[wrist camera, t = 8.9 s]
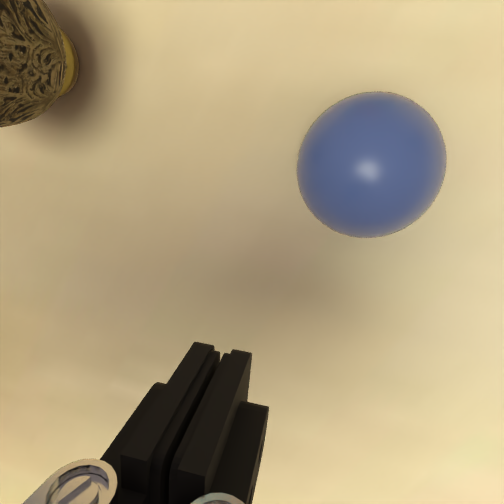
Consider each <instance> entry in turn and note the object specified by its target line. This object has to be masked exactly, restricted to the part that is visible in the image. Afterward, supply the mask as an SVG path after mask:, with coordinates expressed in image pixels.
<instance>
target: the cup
mask: <svg viewBox="0 0 504 504" xmlns="http://www.w3.org/2000/svg"><path fill="white" fill-rule="evenodd" d="M78 72H79V61H78V56H77V52H76V49H75V47H74V45H73V43H72V41H71V40H70V39H69V37H68V36H67V35H66V34H65V33H64V31H63V30H62V29H61V28H59V27H58V25H57V23H56V21H55V19H54V17H53V15H52V13H51V12H50V10H49V9H48V7H47V5H46V4H45V3H44V2H43V0H0V127H6V126H11V125H16V124H20V123H23V122H26V121H29V120H32V119H34V118H36V117H37V116H39V115H41V114H42V113H44V112H45V111H46V110H47V109H48V108H49V107H50V106H51V105H52V104H53V103H54V102H55V100H56V99H57V98H58V97H60V96H62V95H64V94H66V93H67V92H69V91H70V90H71V89H72V87H73V86H74V84H75V83H76V80H77V77H78Z"/></svg>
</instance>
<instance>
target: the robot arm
mask: <svg viewBox="0 0 504 504" xmlns="http://www.w3.org/2000/svg"><path fill="white" fill-rule="evenodd" d="M251 360H252V353H250V352H244V351H239V350H234V349H233V350H232V351H231V353H230V354H228V353H224V355H223V357H222V359H221V361H220V352H218V351H214V346H213V345H209V344H204V343H199V342H194V343H193V345H192V346H191V348H190V349H189V351H188V352H187V354H186V355H185V357H184V358H183V360H182V361H181V363H180V364H179V366H178V367H177V369H176V370H175V372H174V374H173V375H172V377H171V378H170V380H169V381H168V383H167V384H164V383H159V382H157V383H155V384H154V385H153V386H152V387H151V389H150V390H149V391H148V393H147V394H146V396H145V397H144V398H143V400H142V401H141V403H140V404H139V406H138V407H137V408H136V410H135V411H134V413H133V414H132V415H131V417H130V418H129V420H128V421H127V422H126V424H125V425H124V427H123V428H122V429H121V431H120V432H119V434H118V435H117V436H116V438H115V439H114V441H113V442H112V443H111V445H110V446H109V448H108V449H107V450H106V452H105V453H104V455H103V456H102V458H101V459H100V460H98V459H82V460H78V461H75V462H72V463H70V464H68V465H66V466H64V467H62V468H60V469H59V470H58V471H56V472H55V473H54V474H53V475H51V476H50V477H49V478H48V479H47V480H46V481H45V482H44V483H43V484H42V485H41V486H40V487H39V488H38V489H37V490H36V491H35V492H34V493H33V494H32V495H31V496H30V497H29V498H28V499H27V500H26V501H25V502H24V503H23V504H252V500H253V495H254V491H255V486H256V481H257V476H258V472H259V467H260V462H261V457H262V452H263V446H264V441H265V434H266V427H267V420H268V412H269V407H267V406H263V405H258V404H254V403H249V402H247V398H248V388H249V379H250V369H251Z"/></svg>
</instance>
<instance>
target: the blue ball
mask: <svg viewBox="0 0 504 504" xmlns="http://www.w3.org/2000/svg"><path fill="white" fill-rule="evenodd" d="M445 171H446V148H445V143H444V140H443V137H442V134H441V131H440V129H439V127H438V126H437V124H436V122H435V121H434V120H433V118H432V117H431V116H430V114H429V113H428V112H427V111H426V110H424V109H423V108H422V107H421V106H420V105H418V104H417V103H415V102H414V101H412V100H410V99H408V98H406V97H403V96H400V95H397V94H393V93H389V92H366V93H360V94H356V95H353V96H350V97H347V98H345V99H343V100H341V101H339V102H337V103H336V104H334V105H332V106H331V107H330V108H328V109H327V110H326V111H325V112H323V113H322V114H321V115H320V116H319V117H318V118H317V119H316V121H315V122H314V123H313V124H312V126H311V127H310V129H309V130H308V132H307V134H306V135H305V137H304V140H303V142H302V144H301V147H300V151H299V155H298V161H297V179H298V185H299V189H300V192H301V195H302V197H303V200H304V201H305V203H306V205H307V207H308V208H309V210H310V211H311V212H312V213H313V215H314V216H315V217H316V218H317V219H318V220H319V221H321V222H322V223H323V224H324V225H326V226H327V227H329V228H331V229H332V230H334V231H337V232H339V233H341V234H345V235H348V236H353V237H359V238H372V237H380V236H385V235H389V234H392V233H395V232H397V231H399V230H401V229H403V228H405V227H407V226H409V225H410V224H412V223H413V222H414V221H416V220H417V219H418V218H419V217H421V216H422V215H423V214H424V213H425V212H426V210H427V209H428V208H429V207H430V206H431V204H432V203H433V201H434V200H435V198H436V196H437V195H438V193H439V190H440V188H441V186H442V183H443V180H444V176H445Z"/></svg>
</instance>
